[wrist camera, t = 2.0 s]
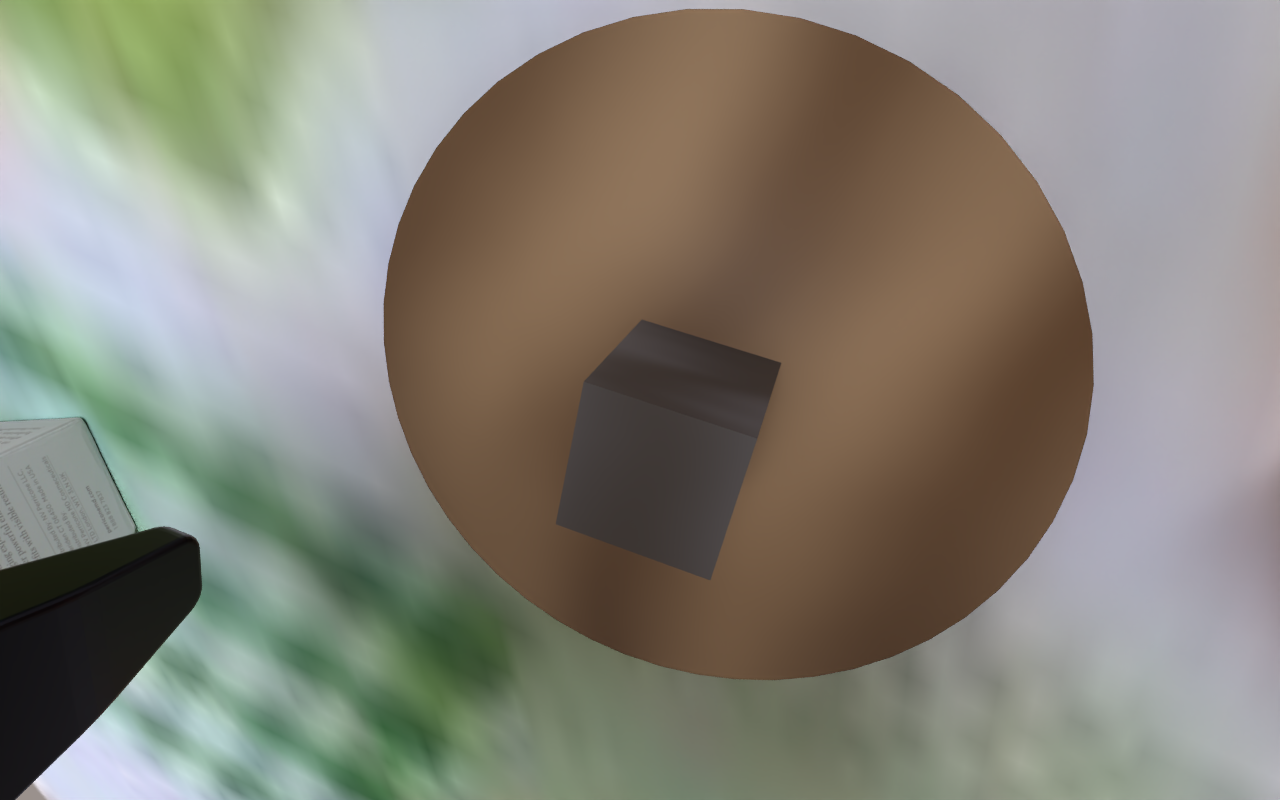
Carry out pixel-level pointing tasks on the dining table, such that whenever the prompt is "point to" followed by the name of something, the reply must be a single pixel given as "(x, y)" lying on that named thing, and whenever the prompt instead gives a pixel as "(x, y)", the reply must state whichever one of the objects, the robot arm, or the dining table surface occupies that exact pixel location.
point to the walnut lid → (738, 344)
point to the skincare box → (54, 491)
